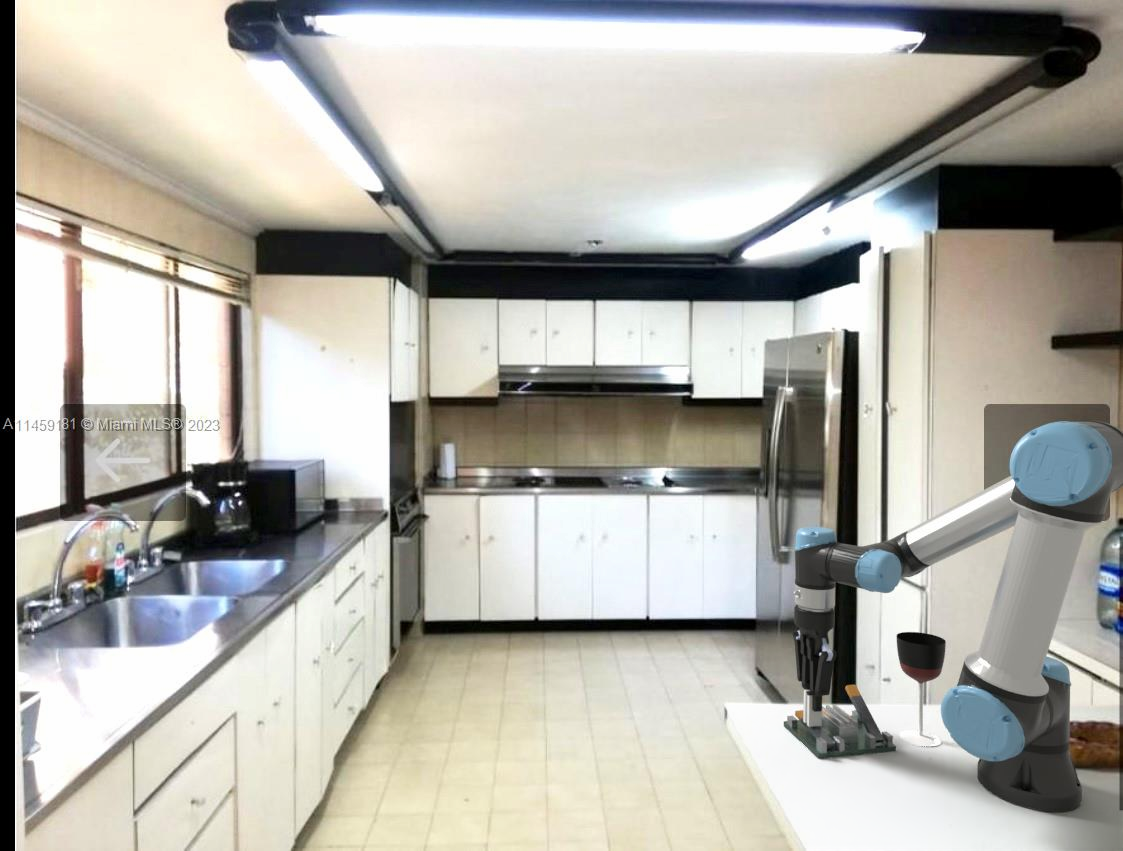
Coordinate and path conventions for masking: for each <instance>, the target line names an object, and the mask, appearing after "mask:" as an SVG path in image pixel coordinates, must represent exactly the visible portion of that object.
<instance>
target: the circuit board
mask: <svg viewBox="0 0 1123 851" xmlns="http://www.w3.org/2000/svg"><path fill="white" fill-rule="evenodd" d="M786 719H787V720H785V721H783V727H784V728H785V729H786V730H787V731H788V732H789V733H791V734H792V736H794V737H795V739H797V740H798V741H799V742H800V741H801V742H802V743H803V744H804V745H805V746H806V747H807V748H808V751H809V752H810V753H812V754H813V756H815V757H816V758H817V759H818V760H820V758H821V759H829V758H830V757H832V758H841V757H851V756H861V755H870V754H871V755H872V754H881V753H892V752H897V745H896V744H894V736H893V735H892V734H890V733H889V732H888V731H881V734H882V736H883V738H884V741H883V742H882V743H876V738H875V737H874V736H873V735H871V734H870V733H868V732H867V730H866V729H865V727H864V725H863V723H862V721H861V719H860V717H859V715H858V713H857V711H856V709H854V710H851V715H850V714H848V713H847V712H846V711H844V710H843V709H842V708H841V707H839V706H838V705H836V704H832V706H830V705H829V704H827V705H825V707H824V706H823V705H822V726H820V727H821V728H822V729H823V730H824V731H825V733H826V734H827V735H828V736H829V737H830V738H831V739H832V740H833V741H834V742H835V748H829V749H827V742H826V741H825V740H824V739H823V738H821V737H820V738H815V737H814V736H813V735H812V734H811V732H810V731H809V730H808V729H807V728H806V727H805V726H804V725H803V724H802V723H801V721H800V720H799V719H798V718H797V717H796V716H794V715H787V716H786ZM801 742H800V743H801ZM802 743H801V744H802ZM803 744H802V745H803ZM804 745H803V746H804ZM805 746H804V747H805ZM806 747H805V748H806ZM807 748H806V749H807Z"/></svg>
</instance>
